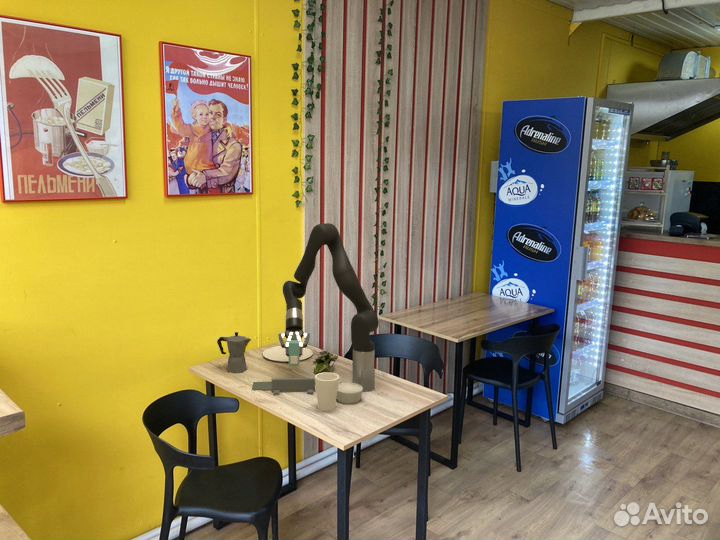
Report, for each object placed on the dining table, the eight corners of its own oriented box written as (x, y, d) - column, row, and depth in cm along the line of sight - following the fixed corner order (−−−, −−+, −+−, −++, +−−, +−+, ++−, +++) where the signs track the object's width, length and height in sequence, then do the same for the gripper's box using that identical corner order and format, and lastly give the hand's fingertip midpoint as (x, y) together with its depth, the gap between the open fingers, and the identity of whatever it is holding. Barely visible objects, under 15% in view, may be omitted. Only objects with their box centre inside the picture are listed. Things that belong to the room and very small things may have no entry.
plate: (294, 345, 298) (295, 342, 298) (322, 357, 279) (322, 354, 279) (253, 353, 282) (253, 350, 282) (279, 367, 263) (279, 364, 263)
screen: (315, 390, 237) (315, 377, 236) (315, 394, 232) (315, 381, 231) (272, 391, 235) (272, 378, 234) (271, 395, 230) (271, 382, 229)
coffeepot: (252, 366, 263) (252, 329, 260) (249, 373, 254) (249, 335, 251) (220, 366, 263) (219, 329, 260) (215, 373, 254) (214, 334, 250)
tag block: (299, 362, 242) (299, 339, 240) (299, 366, 237) (299, 343, 235) (288, 362, 241) (288, 340, 239) (288, 366, 236) (288, 343, 235)
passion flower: (323, 379, 264) (333, 356, 268) (336, 382, 255) (346, 358, 259) (305, 369, 258) (315, 346, 262) (317, 372, 250) (328, 347, 253)
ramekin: (367, 398, 230) (368, 386, 229) (352, 407, 220) (352, 395, 219) (345, 392, 236) (345, 380, 235) (329, 400, 227) (329, 388, 226)
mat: (274, 382, 244) (274, 381, 244) (273, 390, 236) (273, 389, 235) (253, 382, 243) (253, 381, 243) (251, 390, 235) (251, 389, 234)
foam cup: (309, 407, 219) (310, 376, 217) (327, 401, 226) (328, 370, 223) (325, 415, 213) (326, 382, 210) (343, 408, 219) (344, 377, 217)
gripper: (277, 316, 242) (276, 352, 233) (310, 316, 244) (311, 351, 234) (278, 325, 249) (277, 360, 239) (310, 324, 250) (310, 359, 240)
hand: (294, 355), depth 237 cm, fingers closed on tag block, 4 cm apart
